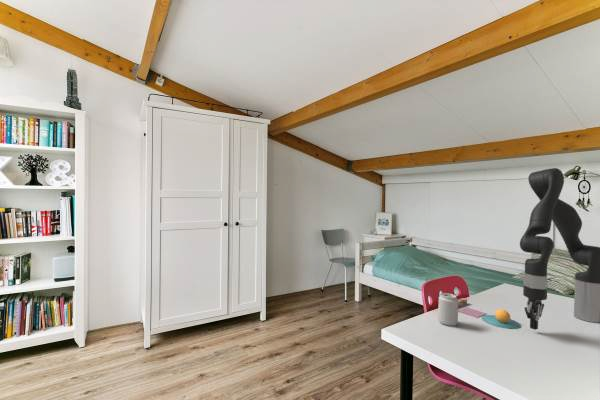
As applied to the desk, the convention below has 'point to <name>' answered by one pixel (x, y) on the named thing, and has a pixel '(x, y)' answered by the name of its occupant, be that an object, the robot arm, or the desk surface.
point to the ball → (502, 316)
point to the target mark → (493, 321)
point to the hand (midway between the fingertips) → (533, 328)
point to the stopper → (462, 301)
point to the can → (448, 309)
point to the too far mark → (472, 312)
